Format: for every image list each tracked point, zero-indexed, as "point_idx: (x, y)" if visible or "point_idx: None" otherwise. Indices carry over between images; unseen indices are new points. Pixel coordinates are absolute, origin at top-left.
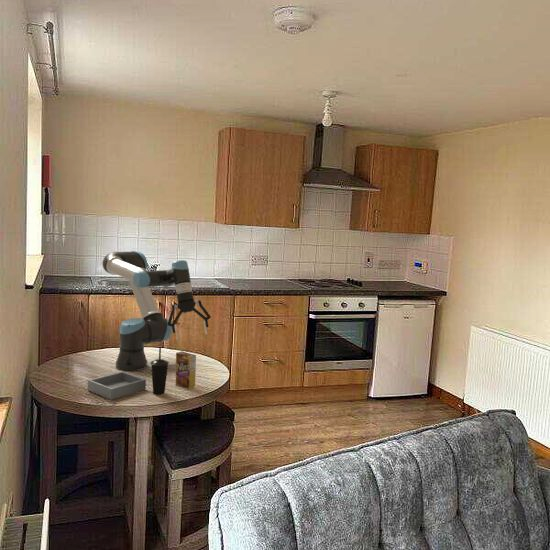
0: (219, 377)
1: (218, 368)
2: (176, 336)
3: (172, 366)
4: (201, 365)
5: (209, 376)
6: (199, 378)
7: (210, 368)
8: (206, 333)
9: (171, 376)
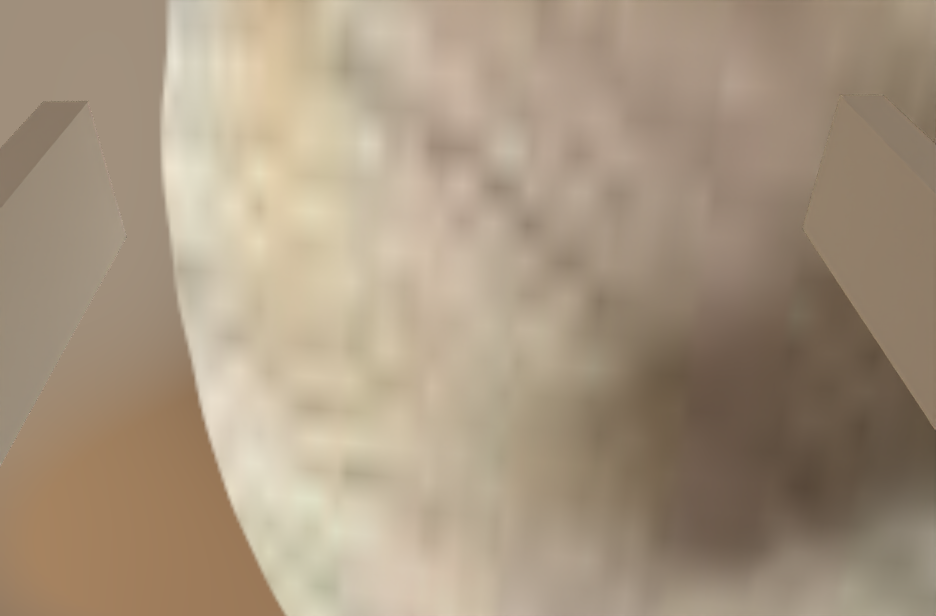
0: (228, 93)
1: (240, 396)
2: (912, 135)
3: (714, 505)
4: (407, 504)
5: (334, 135)
6: (447, 66)
7: (319, 403)
8: (55, 112)
9: (771, 158)
